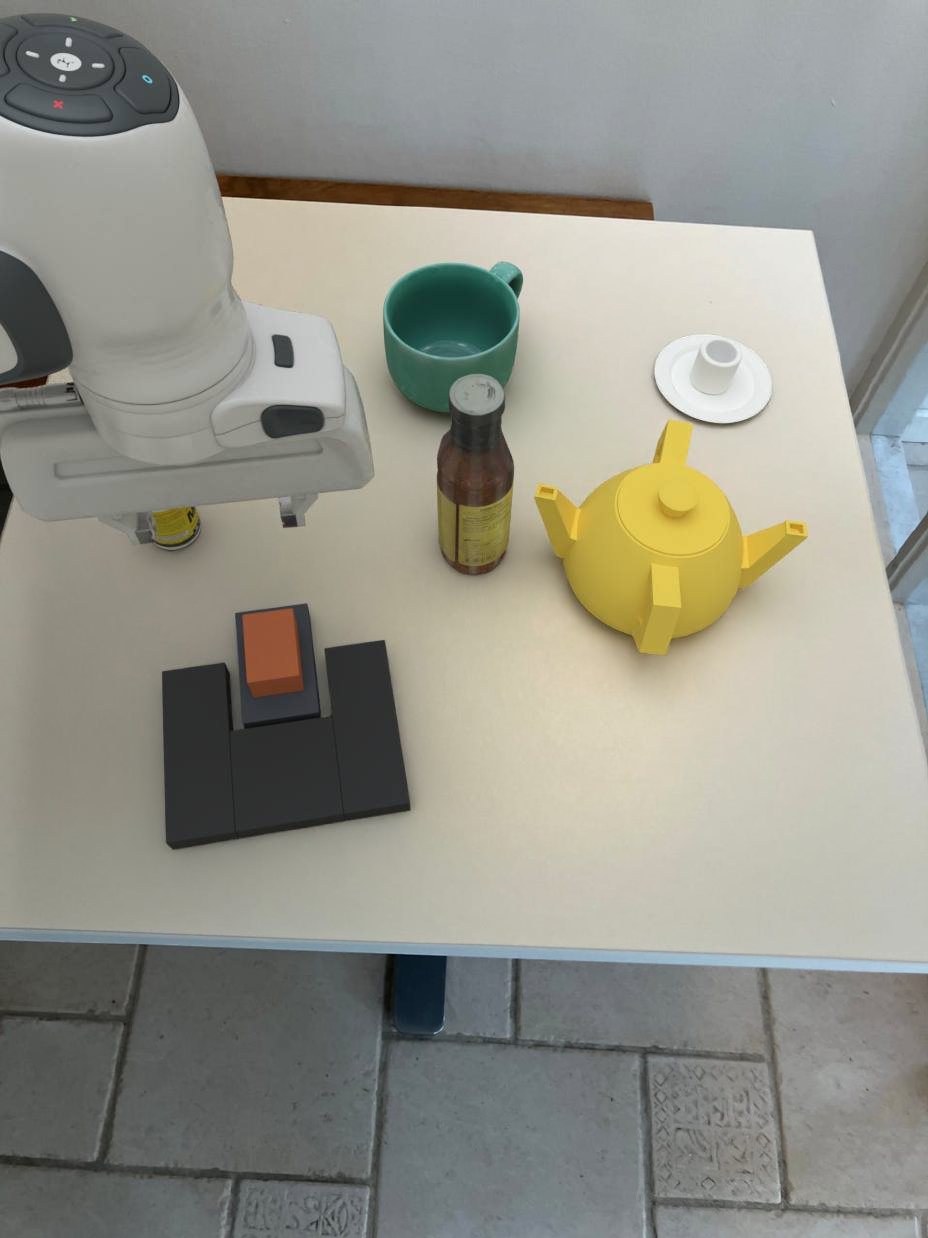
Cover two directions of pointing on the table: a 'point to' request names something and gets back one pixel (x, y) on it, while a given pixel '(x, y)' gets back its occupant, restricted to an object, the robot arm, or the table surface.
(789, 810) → the table surface
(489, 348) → the mug
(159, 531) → the supplement bottle
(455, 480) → the sauce bottle
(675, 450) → the teapot
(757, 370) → the candle holder
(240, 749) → the base pad
